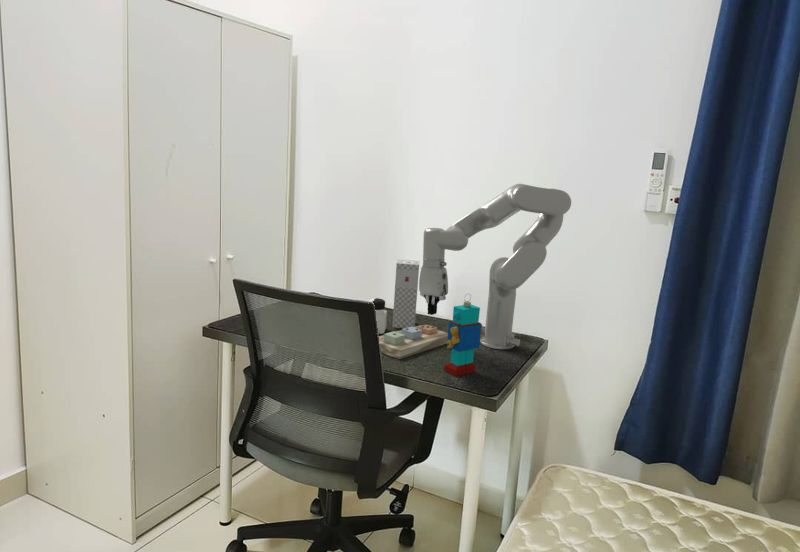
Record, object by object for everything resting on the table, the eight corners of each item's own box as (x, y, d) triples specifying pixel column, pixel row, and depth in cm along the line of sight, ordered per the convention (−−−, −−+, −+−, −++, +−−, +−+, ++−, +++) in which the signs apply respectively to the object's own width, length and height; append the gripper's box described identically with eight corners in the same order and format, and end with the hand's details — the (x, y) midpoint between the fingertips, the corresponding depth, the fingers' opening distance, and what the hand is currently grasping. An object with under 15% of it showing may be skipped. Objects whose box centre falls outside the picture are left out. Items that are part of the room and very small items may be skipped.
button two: (421, 338, 196) (422, 329, 196) (412, 341, 193) (412, 332, 192) (410, 334, 200) (411, 325, 199) (401, 337, 196) (401, 328, 195)
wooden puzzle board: (450, 342, 203) (451, 334, 202) (399, 359, 182) (400, 350, 181) (420, 332, 212) (421, 324, 211) (368, 347, 191) (368, 339, 190)
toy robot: (467, 365, 181) (474, 289, 176) (480, 371, 176) (488, 294, 171) (439, 371, 174) (446, 292, 169) (452, 378, 169) (460, 297, 164)
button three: (436, 335, 203) (437, 327, 203) (428, 338, 200) (428, 329, 199) (426, 332, 207) (426, 323, 206) (417, 334, 203) (418, 326, 202)
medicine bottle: (385, 328, 213) (387, 298, 211) (383, 334, 206) (385, 302, 204) (367, 326, 214) (369, 296, 212) (364, 332, 207) (366, 300, 205)
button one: (404, 343, 190) (405, 334, 189) (394, 346, 186) (395, 337, 185) (393, 339, 193) (394, 330, 192) (383, 342, 189) (384, 333, 189)
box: (393, 321, 224) (397, 259, 219) (414, 322, 223) (419, 261, 218) (392, 327, 215) (396, 263, 210) (414, 329, 215) (419, 265, 210)
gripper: (457, 264, 196) (455, 315, 199) (423, 259, 205) (422, 308, 209) (444, 267, 190) (442, 320, 194) (410, 262, 200) (409, 312, 204)
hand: (432, 313), depth 201 cm, fingers closed
